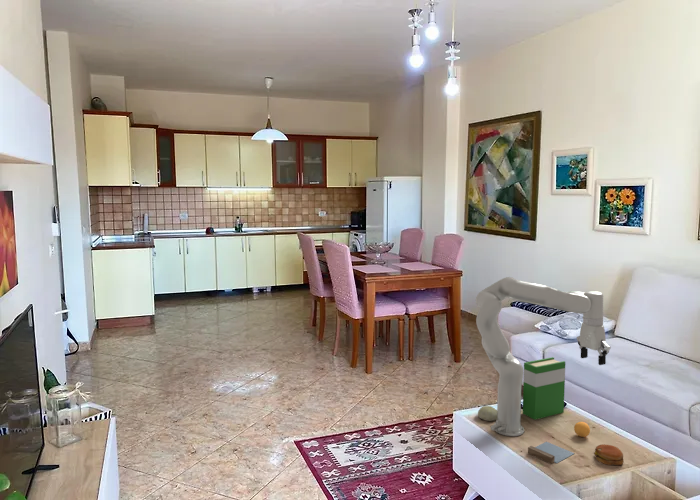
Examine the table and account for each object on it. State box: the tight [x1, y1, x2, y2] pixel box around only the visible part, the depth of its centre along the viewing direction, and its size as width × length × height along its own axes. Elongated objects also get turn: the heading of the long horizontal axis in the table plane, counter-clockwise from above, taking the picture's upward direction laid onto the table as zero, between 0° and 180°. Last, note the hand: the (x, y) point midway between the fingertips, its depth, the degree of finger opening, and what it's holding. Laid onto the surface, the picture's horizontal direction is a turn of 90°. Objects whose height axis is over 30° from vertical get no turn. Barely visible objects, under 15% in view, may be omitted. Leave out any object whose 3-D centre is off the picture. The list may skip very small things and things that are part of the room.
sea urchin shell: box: [477, 405, 497, 422], centre depth 230 cm, size 9×8×8 cm
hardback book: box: [522, 356, 566, 421], centre depth 234 cm, size 18×7×24 cm, turn 115°
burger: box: [593, 444, 624, 466], centre depth 193 cm, size 10×9×5 cm
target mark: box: [534, 441, 575, 464], centre depth 199 cm, size 12×12×1 cm
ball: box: [573, 421, 591, 438], centre depth 211 cm, size 6×6×6 cm
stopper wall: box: [527, 445, 555, 465], centre depth 194 cm, size 2×10×2 cm, turn 36°
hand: (592, 361), depth 215 cm, fingers open, 9 cm apart
